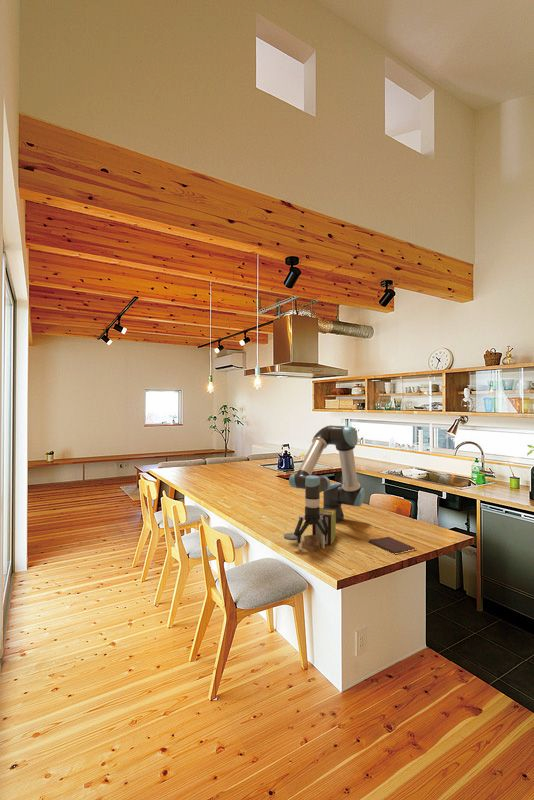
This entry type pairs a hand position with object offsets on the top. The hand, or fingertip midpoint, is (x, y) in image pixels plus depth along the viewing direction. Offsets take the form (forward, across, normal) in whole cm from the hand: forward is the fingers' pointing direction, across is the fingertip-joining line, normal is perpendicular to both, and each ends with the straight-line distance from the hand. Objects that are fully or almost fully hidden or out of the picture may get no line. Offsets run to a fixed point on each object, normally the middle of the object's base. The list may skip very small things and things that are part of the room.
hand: (311, 548), depth 204 cm
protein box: (0, -12, -11) cm, 16 cm away
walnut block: (0, 0, 0) cm, 0 cm away
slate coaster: (0, +4, -19) cm, 20 cm away
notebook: (+1, -43, +7) cm, 44 cm away
